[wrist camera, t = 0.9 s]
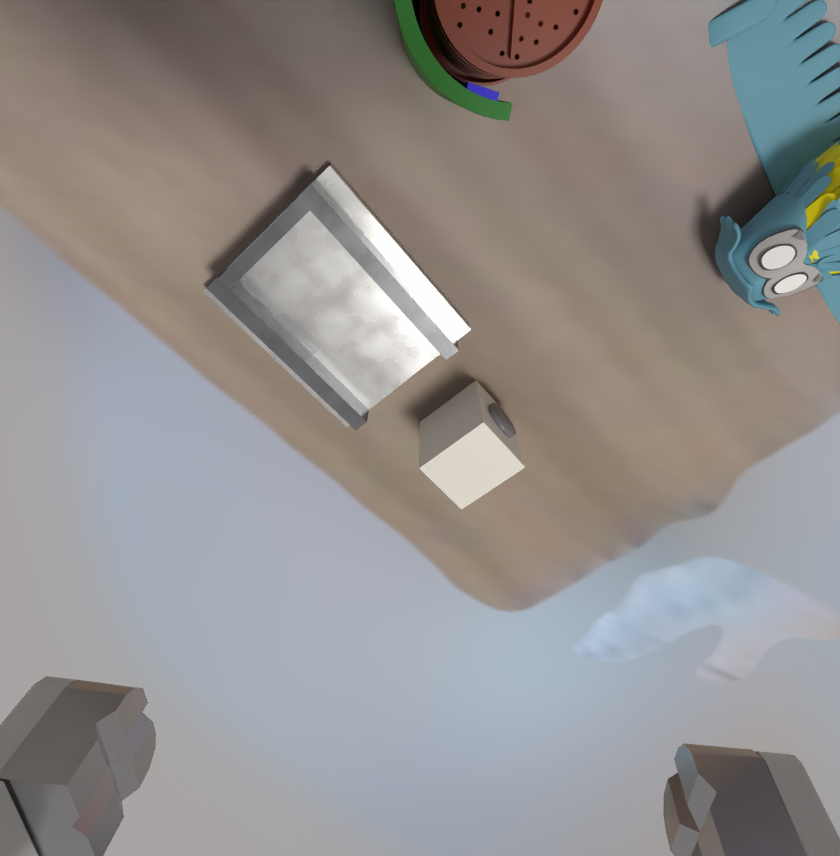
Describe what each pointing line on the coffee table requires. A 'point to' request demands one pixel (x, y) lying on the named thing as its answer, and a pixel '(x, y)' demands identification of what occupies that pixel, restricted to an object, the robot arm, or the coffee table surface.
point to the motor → (489, 44)
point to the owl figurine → (785, 151)
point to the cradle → (338, 300)
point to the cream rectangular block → (469, 446)
